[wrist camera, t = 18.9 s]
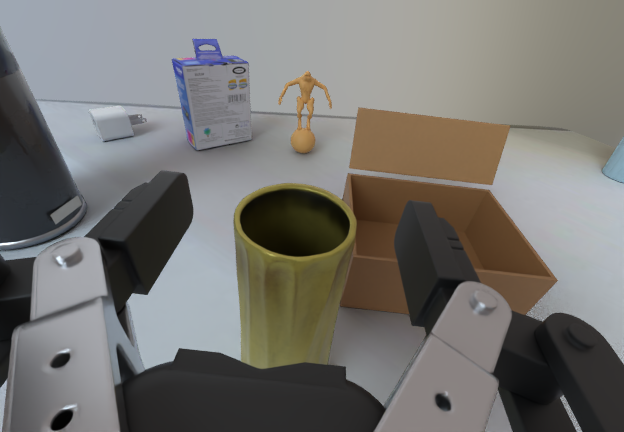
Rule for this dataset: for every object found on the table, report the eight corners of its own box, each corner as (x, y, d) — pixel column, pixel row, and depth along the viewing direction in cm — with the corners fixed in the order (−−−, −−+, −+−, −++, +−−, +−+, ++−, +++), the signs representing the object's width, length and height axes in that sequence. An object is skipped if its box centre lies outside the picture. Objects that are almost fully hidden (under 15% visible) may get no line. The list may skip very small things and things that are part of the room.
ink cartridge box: (239, 128, 54) (234, 37, 45) (253, 140, 50) (251, 44, 41) (184, 138, 48) (165, 37, 40) (196, 151, 45) (179, 45, 36)
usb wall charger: (97, 133, 47) (87, 108, 44) (142, 125, 51) (136, 102, 48) (104, 142, 45) (94, 117, 42) (151, 133, 49) (145, 109, 46)
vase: (314, 431, 18) (359, 290, 10) (224, 401, 19) (189, 245, 10) (333, 342, 23) (374, 193, 14) (260, 321, 24) (256, 167, 15)
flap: (358, 107, 29) (358, 107, 30) (349, 168, 31) (349, 167, 32) (510, 125, 29) (508, 125, 30) (492, 185, 31) (490, 184, 32)
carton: (340, 306, 26) (353, 256, 22) (338, 217, 36) (347, 173, 32) (514, 326, 26) (558, 280, 22) (464, 232, 36) (489, 189, 32)
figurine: (276, 155, 47) (278, 75, 39) (277, 140, 51) (279, 65, 44) (327, 158, 48) (339, 80, 40) (324, 143, 52) (334, 70, 45)
